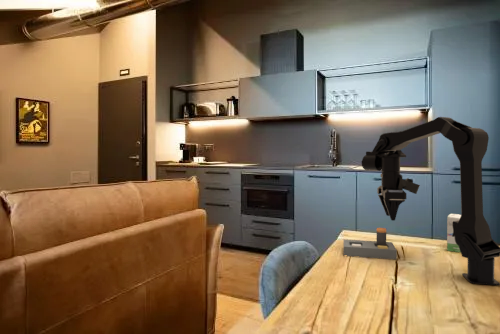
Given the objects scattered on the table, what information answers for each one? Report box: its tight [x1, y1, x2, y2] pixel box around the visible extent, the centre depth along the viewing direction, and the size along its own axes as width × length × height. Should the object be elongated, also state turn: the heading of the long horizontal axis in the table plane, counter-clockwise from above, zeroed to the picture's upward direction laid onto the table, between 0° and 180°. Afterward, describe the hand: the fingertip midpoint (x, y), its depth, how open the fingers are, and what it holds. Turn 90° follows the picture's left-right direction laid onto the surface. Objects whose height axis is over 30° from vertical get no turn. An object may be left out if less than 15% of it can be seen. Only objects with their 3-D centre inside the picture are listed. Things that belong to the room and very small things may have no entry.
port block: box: [343, 239, 398, 260], centre depth 111 cm, size 10×16×4 cm, turn 75°
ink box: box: [446, 213, 461, 253], centre depth 116 cm, size 8×5×12 cm, turn 143°
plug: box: [376, 227, 387, 247], centre depth 110 cm, size 3×3×8 cm
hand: (390, 217), depth 111 cm, fingers open, 9 cm apart
